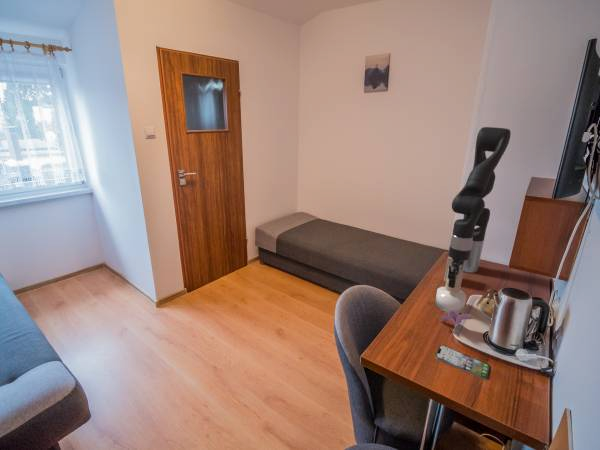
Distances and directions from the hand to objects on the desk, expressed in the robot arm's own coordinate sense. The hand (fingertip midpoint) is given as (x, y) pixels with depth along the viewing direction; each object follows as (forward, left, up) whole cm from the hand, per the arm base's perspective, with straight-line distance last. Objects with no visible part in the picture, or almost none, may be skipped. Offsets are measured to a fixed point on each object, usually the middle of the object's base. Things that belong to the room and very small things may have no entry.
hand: (453, 283), depth 123 cm
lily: (+15, +6, -11) cm, 19 cm away
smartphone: (+30, +13, -11) cm, 35 cm away
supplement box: (-23, -6, -11) cm, 26 cm away
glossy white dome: (0, 0, -10) cm, 10 cm away
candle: (0, 0, -3) cm, 3 cm away
